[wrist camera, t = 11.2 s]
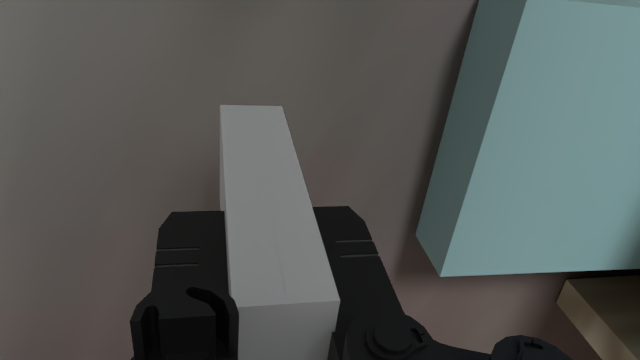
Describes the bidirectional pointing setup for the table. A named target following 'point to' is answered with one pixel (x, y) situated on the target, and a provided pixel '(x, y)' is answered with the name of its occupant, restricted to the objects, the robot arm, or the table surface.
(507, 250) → the teal square tile
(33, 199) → the table surface
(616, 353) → the shelf
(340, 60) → the table surface
